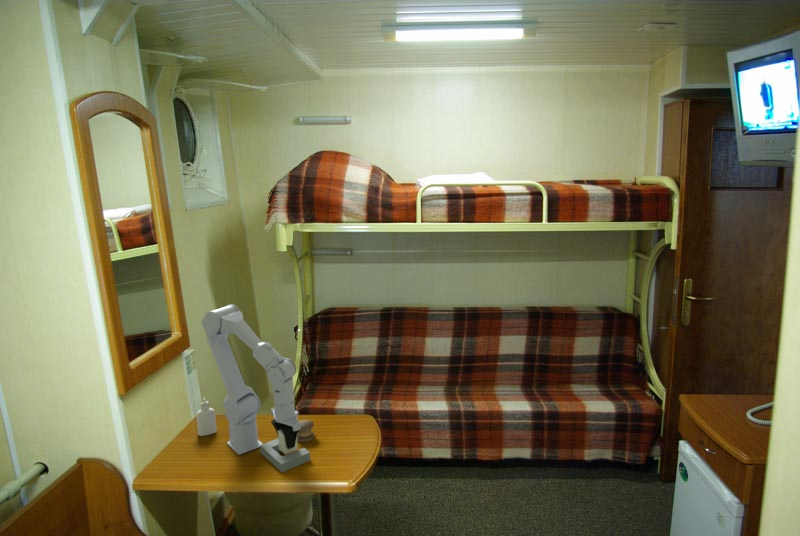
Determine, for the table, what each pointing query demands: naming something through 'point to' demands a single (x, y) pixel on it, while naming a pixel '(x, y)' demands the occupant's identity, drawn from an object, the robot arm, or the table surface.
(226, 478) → the table surface
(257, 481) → the table surface
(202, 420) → the eye dropper bottle
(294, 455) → the notched board
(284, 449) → the block
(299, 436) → the brown knob
